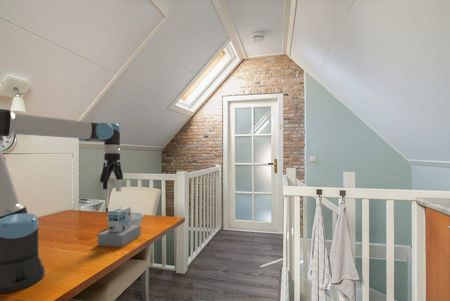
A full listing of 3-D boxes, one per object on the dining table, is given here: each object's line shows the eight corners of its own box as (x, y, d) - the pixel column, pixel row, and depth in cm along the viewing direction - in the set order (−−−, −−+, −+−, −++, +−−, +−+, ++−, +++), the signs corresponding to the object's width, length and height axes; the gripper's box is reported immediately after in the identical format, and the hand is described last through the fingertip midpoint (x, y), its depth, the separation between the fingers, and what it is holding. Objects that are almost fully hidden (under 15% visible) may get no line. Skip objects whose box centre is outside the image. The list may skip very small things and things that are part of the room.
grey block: (122, 247, 115) (122, 235, 115) (97, 246, 117) (97, 234, 117) (140, 236, 130) (140, 225, 130) (118, 234, 133) (118, 224, 133)
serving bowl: (127, 234, 133) (127, 222, 133) (99, 231, 139) (98, 219, 140) (150, 223, 152) (150, 213, 152) (124, 221, 159) (124, 211, 159)
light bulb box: (119, 232, 118) (119, 211, 119) (107, 232, 120) (107, 211, 120) (131, 226, 129) (131, 206, 129) (120, 225, 130) (120, 206, 130)
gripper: (107, 152, 111) (107, 197, 111) (129, 153, 136) (129, 189, 135) (91, 152, 111) (92, 197, 110) (116, 153, 136) (116, 189, 135)
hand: (112, 193), depth 123 cm, fingers open, 13 cm apart
